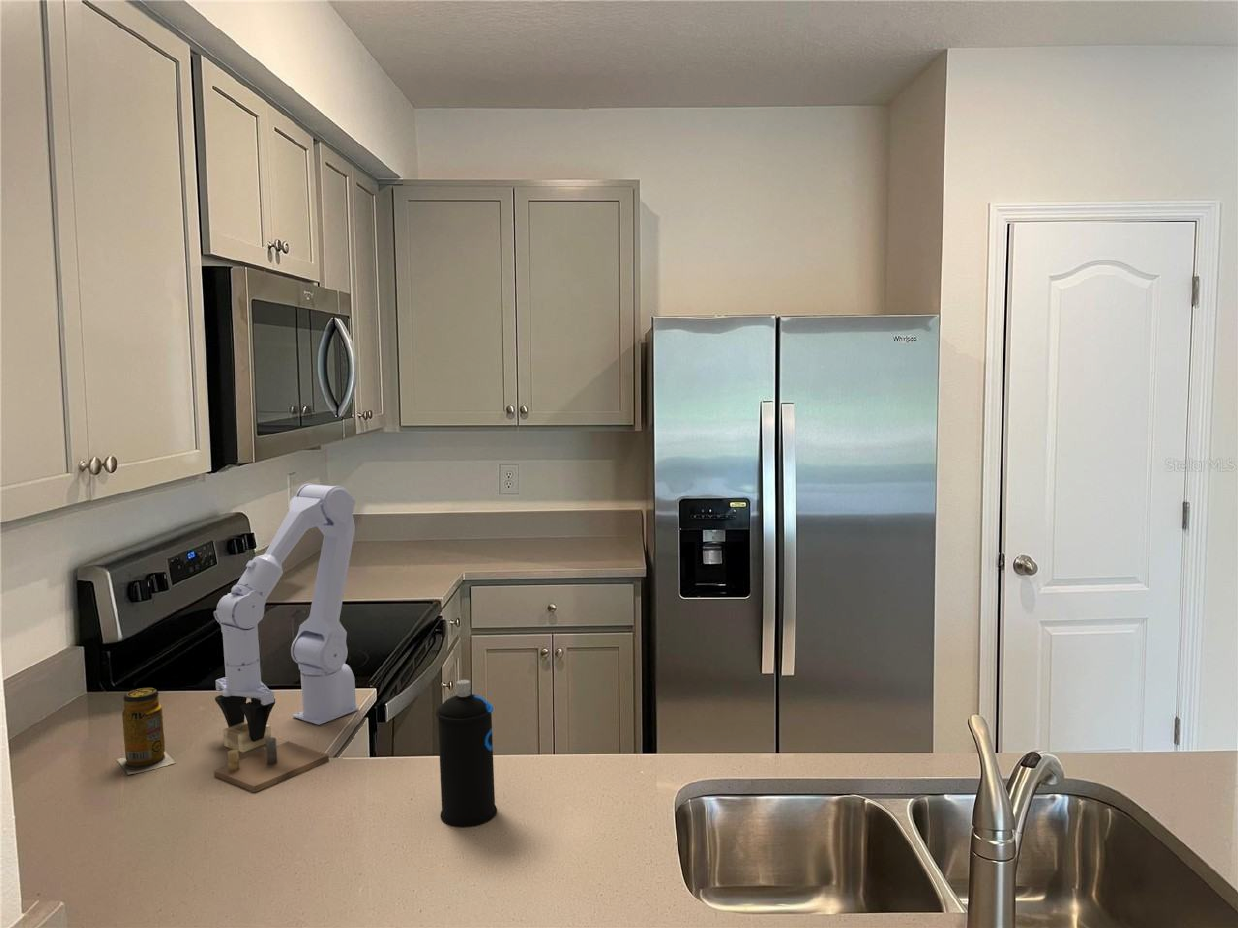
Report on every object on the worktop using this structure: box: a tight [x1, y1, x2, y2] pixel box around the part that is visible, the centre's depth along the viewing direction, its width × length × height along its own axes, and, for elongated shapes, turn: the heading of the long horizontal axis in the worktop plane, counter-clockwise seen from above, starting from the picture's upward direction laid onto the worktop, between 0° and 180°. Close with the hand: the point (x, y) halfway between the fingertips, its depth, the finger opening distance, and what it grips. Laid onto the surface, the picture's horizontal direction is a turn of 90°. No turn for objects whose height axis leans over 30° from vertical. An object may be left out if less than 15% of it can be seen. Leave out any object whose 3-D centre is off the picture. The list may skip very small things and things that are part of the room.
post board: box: [213, 736, 330, 794], centre depth 155 cm, size 14×11×5 cm
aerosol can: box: [435, 679, 498, 828], centre depth 137 cm, size 8×8×20 cm
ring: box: [222, 720, 272, 753], centre depth 166 cm, size 6×6×3 cm
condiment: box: [116, 687, 176, 775], centre depth 158 cm, size 7×8×12 cm
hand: (247, 735), depth 166 cm, fingers closed on ring, 6 cm apart
